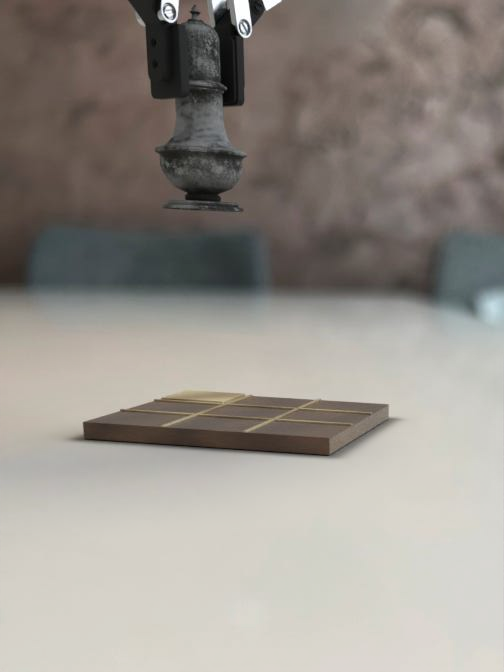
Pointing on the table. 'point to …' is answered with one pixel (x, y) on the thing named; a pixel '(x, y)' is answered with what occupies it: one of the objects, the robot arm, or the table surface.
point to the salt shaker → (201, 130)
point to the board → (241, 422)
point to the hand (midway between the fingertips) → (198, 99)
